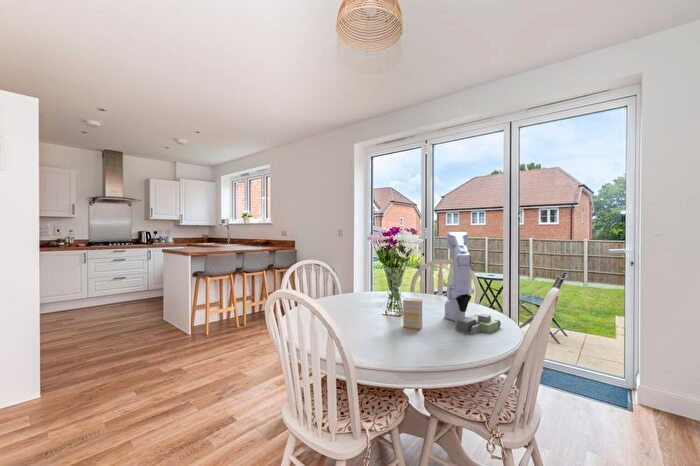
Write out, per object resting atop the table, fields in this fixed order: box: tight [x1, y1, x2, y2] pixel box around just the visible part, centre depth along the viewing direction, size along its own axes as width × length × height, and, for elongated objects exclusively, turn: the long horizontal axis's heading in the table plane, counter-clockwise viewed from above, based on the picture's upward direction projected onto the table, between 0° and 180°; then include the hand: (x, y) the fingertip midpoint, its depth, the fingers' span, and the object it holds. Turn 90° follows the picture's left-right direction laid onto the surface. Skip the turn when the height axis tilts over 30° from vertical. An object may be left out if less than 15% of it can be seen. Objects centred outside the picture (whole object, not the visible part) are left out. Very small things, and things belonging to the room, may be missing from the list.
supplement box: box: [402, 297, 423, 330], centre depth 144 cm, size 8×5×13 cm, turn 65°
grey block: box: [456, 316, 476, 334], centre depth 139 cm, size 5×7×5 cm
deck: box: [454, 313, 502, 335], centre depth 142 cm, size 12×18×6 cm
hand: (462, 311), depth 136 cm, fingers closed
